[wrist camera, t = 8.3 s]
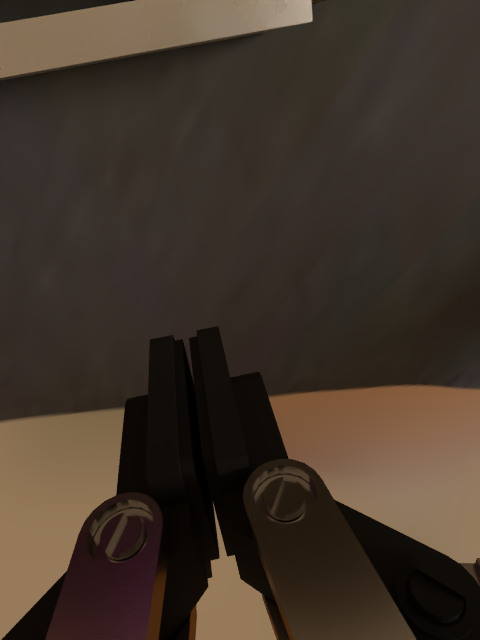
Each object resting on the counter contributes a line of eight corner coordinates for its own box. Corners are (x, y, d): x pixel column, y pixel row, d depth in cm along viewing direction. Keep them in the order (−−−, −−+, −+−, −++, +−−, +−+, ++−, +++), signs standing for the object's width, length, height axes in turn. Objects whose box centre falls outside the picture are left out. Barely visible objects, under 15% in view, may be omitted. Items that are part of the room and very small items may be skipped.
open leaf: (269, -7, 16) (310, -29, 12) (272, 31, 16) (312, 21, 13) (-150, 65, 14) (-250, 65, 11) (-128, 103, 15) (-216, 117, 11)
